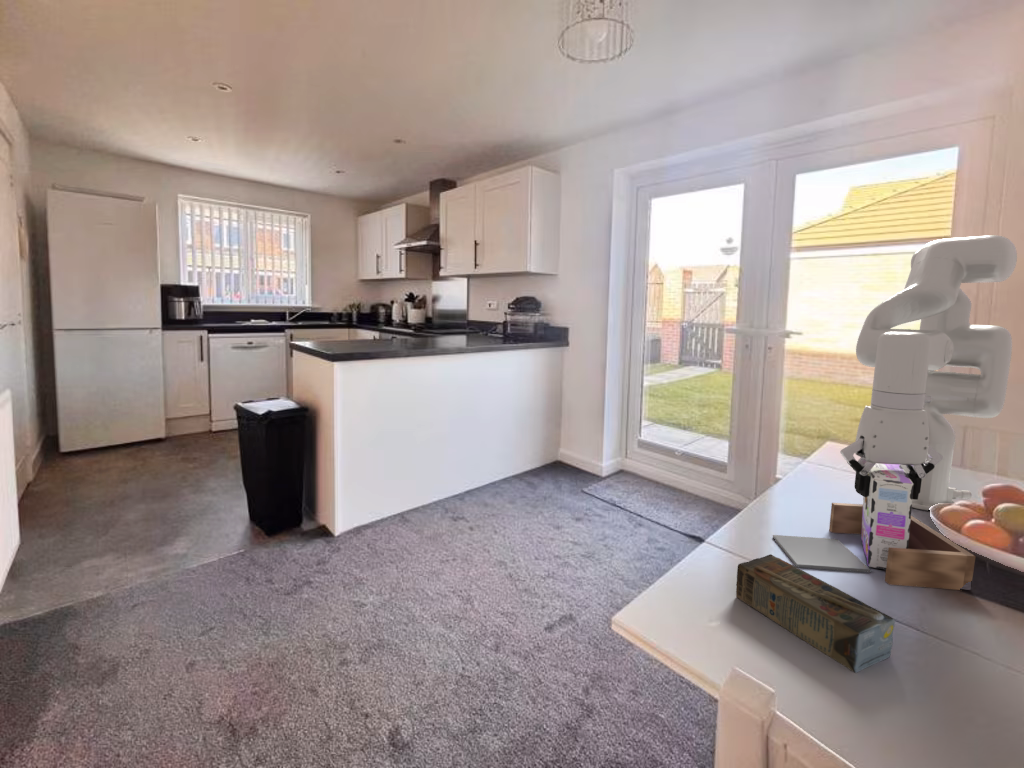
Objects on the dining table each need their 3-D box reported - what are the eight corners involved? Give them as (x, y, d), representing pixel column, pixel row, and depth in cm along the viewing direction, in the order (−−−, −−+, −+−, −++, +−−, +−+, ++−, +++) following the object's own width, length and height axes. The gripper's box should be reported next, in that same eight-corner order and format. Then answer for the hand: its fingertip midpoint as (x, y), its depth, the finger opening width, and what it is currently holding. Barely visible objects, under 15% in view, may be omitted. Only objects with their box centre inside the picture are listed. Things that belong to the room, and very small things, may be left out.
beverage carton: (854, 677, 63) (859, 629, 62) (731, 598, 81) (734, 559, 80) (892, 659, 66) (898, 613, 65) (766, 587, 84) (769, 550, 83)
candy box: (908, 575, 87) (915, 483, 85) (866, 567, 90) (872, 478, 88) (895, 543, 99) (901, 462, 97) (859, 538, 102) (864, 458, 100)
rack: (893, 534, 103) (896, 506, 103) (970, 590, 82) (975, 556, 82) (829, 530, 105) (831, 502, 104) (888, 584, 84) (892, 550, 83)
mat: (837, 541, 100) (837, 539, 100) (870, 572, 88) (870, 569, 88) (772, 537, 102) (773, 534, 101) (796, 567, 90) (797, 564, 90)
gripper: (936, 399, 92) (925, 491, 95) (834, 396, 95) (825, 486, 97) (966, 406, 85) (953, 506, 88) (854, 403, 88) (844, 500, 90)
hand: (886, 495), depth 92 cm, fingers closed on candy box, 7 cm apart
